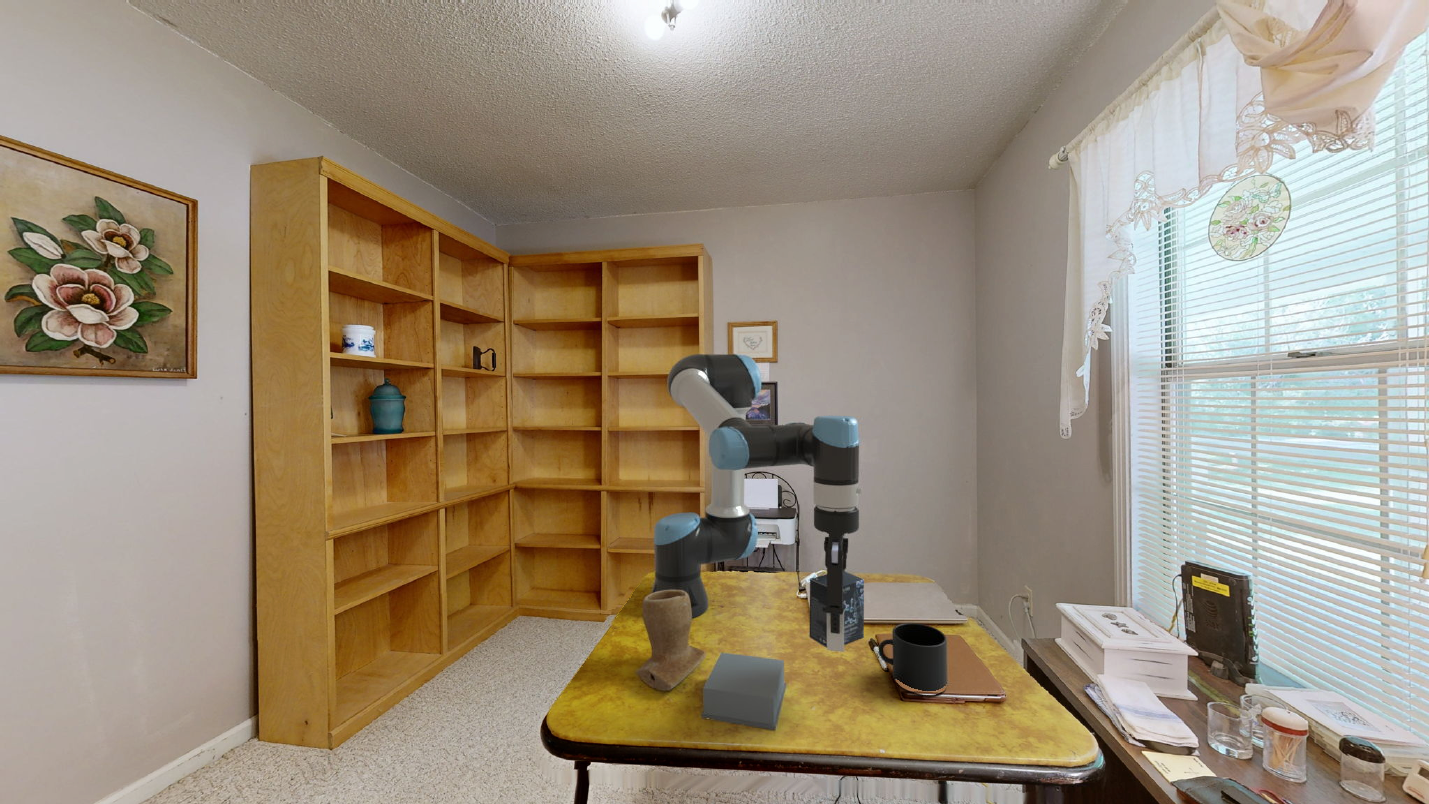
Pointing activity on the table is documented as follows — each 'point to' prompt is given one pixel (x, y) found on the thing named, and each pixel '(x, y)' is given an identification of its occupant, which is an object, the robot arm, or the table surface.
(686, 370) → the robot arm
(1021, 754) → the table surface
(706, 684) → the plinth
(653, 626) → the stone cup
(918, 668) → the mug
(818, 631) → the box
